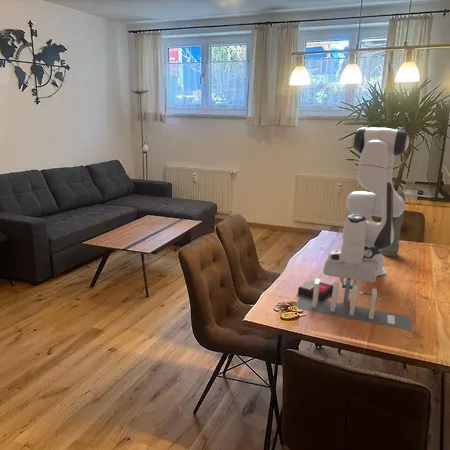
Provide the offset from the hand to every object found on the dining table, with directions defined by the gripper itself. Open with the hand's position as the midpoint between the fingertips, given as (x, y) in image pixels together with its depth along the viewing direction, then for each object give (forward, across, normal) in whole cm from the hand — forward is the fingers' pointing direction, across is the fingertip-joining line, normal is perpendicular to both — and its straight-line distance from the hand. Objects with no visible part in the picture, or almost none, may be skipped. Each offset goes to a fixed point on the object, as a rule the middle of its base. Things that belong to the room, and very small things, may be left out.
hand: (347, 288), depth 169 cm
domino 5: (+5, -10, +10) cm, 15 cm away
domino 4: (+5, -3, +10) cm, 12 cm away
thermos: (+7, -17, -74) cm, 76 cm away
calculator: (+6, +12, -3) cm, 14 cm away
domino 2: (+5, +4, +10) cm, 12 cm away
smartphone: (+7, -12, -8) cm, 16 cm away
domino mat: (+6, -3, +10) cm, 12 cm away
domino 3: (+6, 0, 0) cm, 6 cm away
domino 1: (+5, +11, +10) cm, 16 cm away
